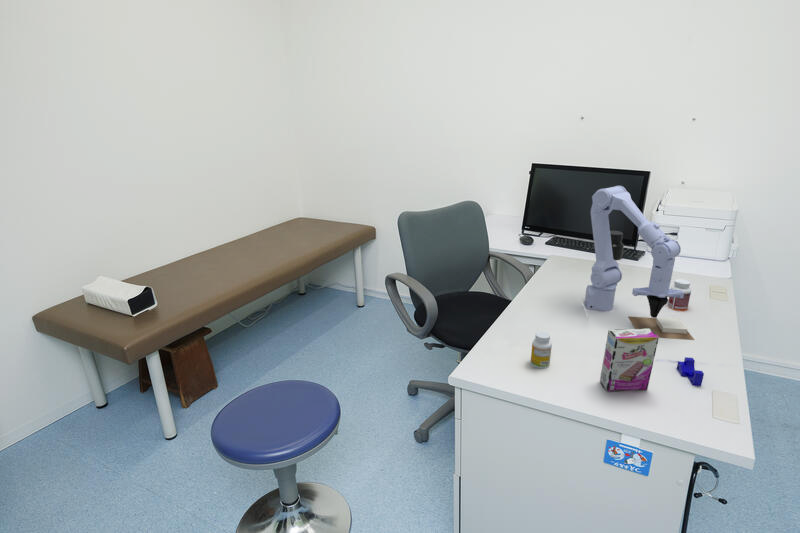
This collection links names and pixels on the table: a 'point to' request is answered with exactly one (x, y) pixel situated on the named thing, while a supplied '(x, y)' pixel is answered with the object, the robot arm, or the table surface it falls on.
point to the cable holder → (690, 371)
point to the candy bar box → (628, 359)
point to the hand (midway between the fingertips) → (653, 316)
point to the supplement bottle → (541, 350)
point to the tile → (671, 325)
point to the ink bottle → (617, 244)
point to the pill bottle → (677, 302)
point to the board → (656, 328)
